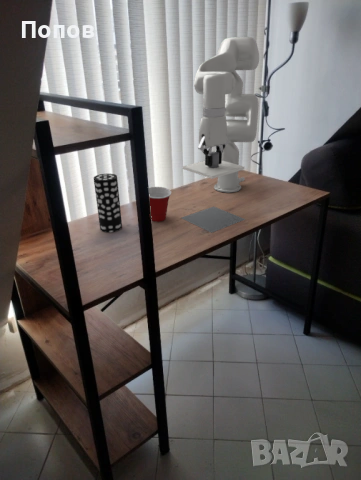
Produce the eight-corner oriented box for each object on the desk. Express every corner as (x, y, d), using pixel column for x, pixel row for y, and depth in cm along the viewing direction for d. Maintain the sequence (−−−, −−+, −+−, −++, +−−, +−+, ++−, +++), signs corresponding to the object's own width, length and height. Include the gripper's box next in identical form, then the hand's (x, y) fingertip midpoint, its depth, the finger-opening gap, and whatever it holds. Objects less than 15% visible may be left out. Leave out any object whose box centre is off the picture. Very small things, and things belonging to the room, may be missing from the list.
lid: (214, 160, 152) (214, 145, 150) (244, 169, 141) (245, 153, 138) (182, 168, 144) (182, 152, 141) (212, 178, 132) (212, 161, 130)
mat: (213, 207, 163) (213, 206, 162) (245, 220, 150) (245, 219, 150) (180, 218, 153) (180, 217, 153) (211, 233, 140) (211, 232, 140)
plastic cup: (160, 227, 146) (158, 197, 140) (139, 221, 152) (137, 192, 146) (178, 218, 153) (177, 189, 148) (157, 212, 159) (155, 184, 154)
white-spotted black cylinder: (122, 231, 144) (117, 179, 135) (99, 233, 143) (93, 181, 134) (121, 222, 151) (116, 172, 142) (100, 224, 150) (93, 174, 141)
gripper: (223, 108, 140) (222, 158, 149) (188, 114, 131) (189, 166, 140) (238, 110, 135) (236, 162, 143) (203, 117, 126) (203, 171, 134)
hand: (213, 164), depth 141 cm, fingers closed on lid, 4 cm apart
